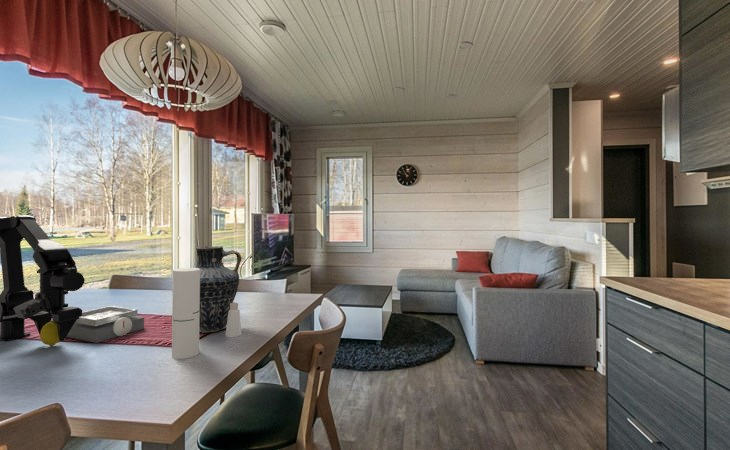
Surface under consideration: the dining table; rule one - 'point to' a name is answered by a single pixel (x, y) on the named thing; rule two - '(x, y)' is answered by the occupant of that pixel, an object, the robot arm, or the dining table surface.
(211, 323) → the jug
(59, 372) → the dining table surface
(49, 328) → the lemon
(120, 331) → the scale
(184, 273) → the cylindrical container
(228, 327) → the pepper shaker
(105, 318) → the pan
